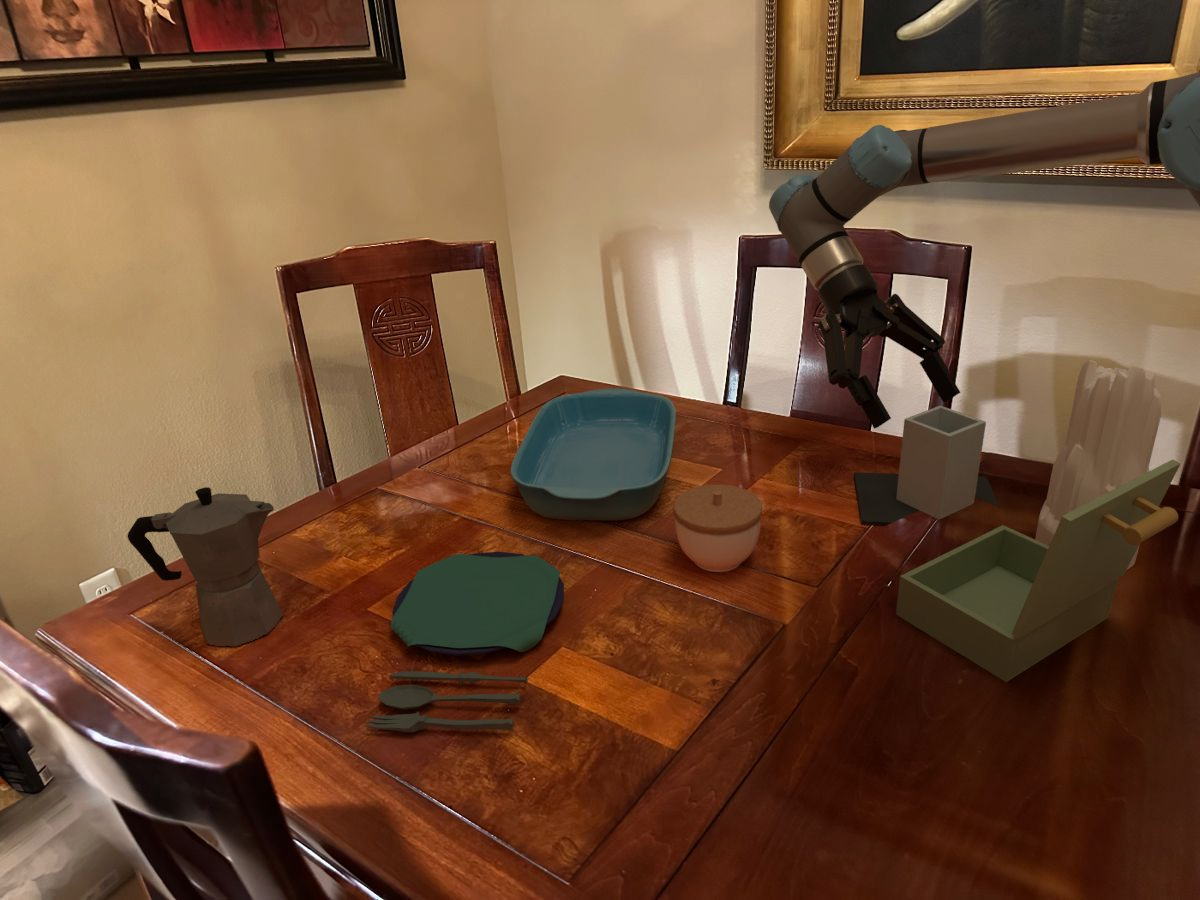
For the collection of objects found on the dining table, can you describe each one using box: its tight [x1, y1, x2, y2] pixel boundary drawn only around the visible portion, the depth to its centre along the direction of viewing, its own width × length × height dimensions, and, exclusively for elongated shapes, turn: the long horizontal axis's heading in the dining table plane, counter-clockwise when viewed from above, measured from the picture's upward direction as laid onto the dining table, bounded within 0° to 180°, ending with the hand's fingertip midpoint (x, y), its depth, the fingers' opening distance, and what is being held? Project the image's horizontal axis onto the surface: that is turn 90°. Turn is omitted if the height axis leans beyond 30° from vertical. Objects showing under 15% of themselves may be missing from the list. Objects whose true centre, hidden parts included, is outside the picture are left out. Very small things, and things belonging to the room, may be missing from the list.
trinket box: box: [672, 484, 763, 573], centre depth 103 cm, size 11×11×9 cm
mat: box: [853, 471, 1001, 527], centre depth 115 cm, size 18×14×1 cm
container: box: [896, 405, 987, 520], centre depth 111 cm, size 7×7×12 cm
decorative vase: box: [1034, 359, 1162, 570], centre depth 96 cm, size 11×11×25 cm
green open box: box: [895, 524, 1119, 683], centre depth 90 cm, size 13×17×6 cm
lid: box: [1011, 459, 1182, 639], centre depth 78 cm, size 14×17×4 cm
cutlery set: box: [365, 551, 565, 733], centre depth 93 cm, size 20×30×2 cm, turn 173°
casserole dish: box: [510, 387, 677, 522], centre depth 126 cm, size 37×22×7 cm, turn 172°
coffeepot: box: [127, 486, 284, 647], centre depth 95 cm, size 15×9×18 cm, turn 102°
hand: (918, 410), depth 111 cm, fingers open, 13 cm apart
